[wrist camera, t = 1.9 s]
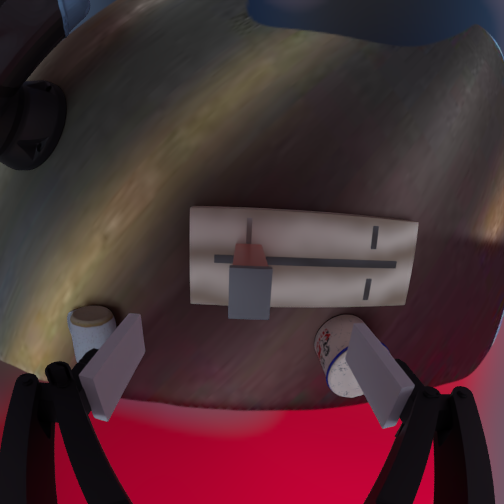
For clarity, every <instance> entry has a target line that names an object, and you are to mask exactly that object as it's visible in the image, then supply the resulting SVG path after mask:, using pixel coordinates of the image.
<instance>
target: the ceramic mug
mask: <svg viewBox="0 0 504 504" xmlns="http://www.w3.org/2000/svg"><path fill="white" fill-rule="evenodd" d="M67 320H68V327H69V330H70V332H71V335H72V340H73V346H74V351H75V356H76V360H77V363H78V362H79V360H80V359H82V357H83V356H84V355H85V353H86V352H88V351H89V350H91V349H93V348H96V349H100V348H101V346H102V345H103V344H104V343H105V342H106V340H107V339H108V338H109V337H110V335H111V334H112V333H113V332H114V331H115V329H116V322H115V319H114V316H113V313H112V312H111V311H110V310H109V309H107V308H106V307H102V306H86V307H82V308H79V309H76V310H73V311H71V312H69V313H68V317H67Z"/></svg>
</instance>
